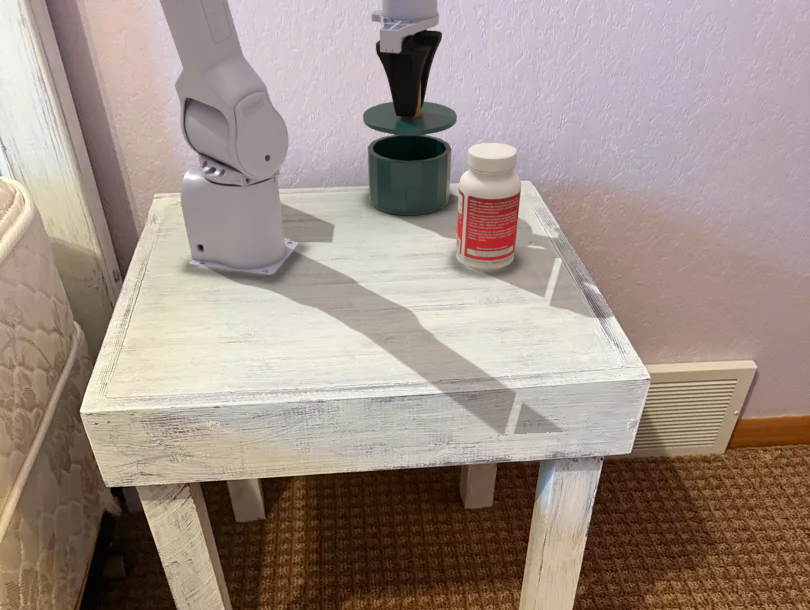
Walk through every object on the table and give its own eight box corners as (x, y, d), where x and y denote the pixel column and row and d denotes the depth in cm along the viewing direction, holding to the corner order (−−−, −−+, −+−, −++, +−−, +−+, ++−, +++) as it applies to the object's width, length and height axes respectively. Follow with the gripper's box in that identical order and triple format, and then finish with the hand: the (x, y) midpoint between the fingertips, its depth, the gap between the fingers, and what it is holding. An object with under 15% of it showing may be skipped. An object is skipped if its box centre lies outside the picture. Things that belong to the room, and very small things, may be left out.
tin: (359, 210, 90) (357, 157, 86) (382, 181, 97) (381, 130, 93) (438, 219, 88) (440, 165, 84) (456, 188, 95) (458, 137, 91)
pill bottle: (525, 264, 80) (538, 153, 72) (479, 279, 78) (487, 166, 70) (489, 243, 84) (497, 135, 76) (443, 257, 82) (448, 146, 74)
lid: (457, 141, 83) (460, 89, 79) (360, 140, 83) (358, 88, 79) (455, 111, 90) (457, 61, 87) (366, 110, 90) (364, 61, 87)
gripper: (392, -52, 82) (394, 90, 91) (347, -28, 72) (354, 128, 81) (456, -49, 80) (451, 95, 90) (419, -24, 70) (418, 134, 80)
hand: (409, 111), depth 86 cm, fingers closed on lid, 2 cm apart
